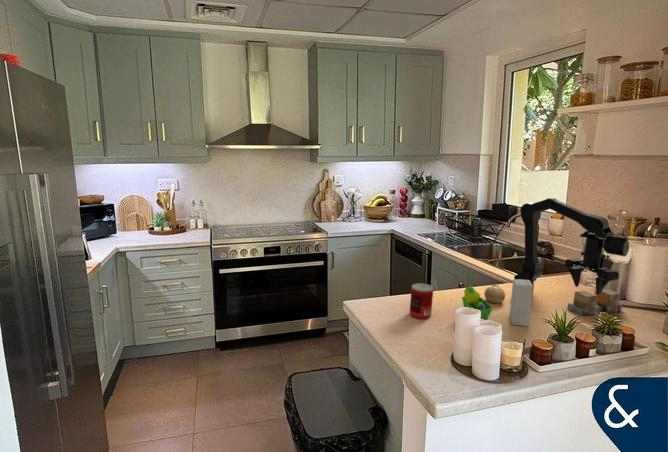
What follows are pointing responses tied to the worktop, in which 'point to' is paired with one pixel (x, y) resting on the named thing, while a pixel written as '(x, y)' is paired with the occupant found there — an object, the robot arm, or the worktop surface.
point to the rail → (580, 310)
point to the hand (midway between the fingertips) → (587, 290)
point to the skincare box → (521, 302)
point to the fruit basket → (476, 302)
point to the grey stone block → (585, 301)
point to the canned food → (421, 301)
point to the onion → (494, 294)
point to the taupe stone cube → (609, 300)
